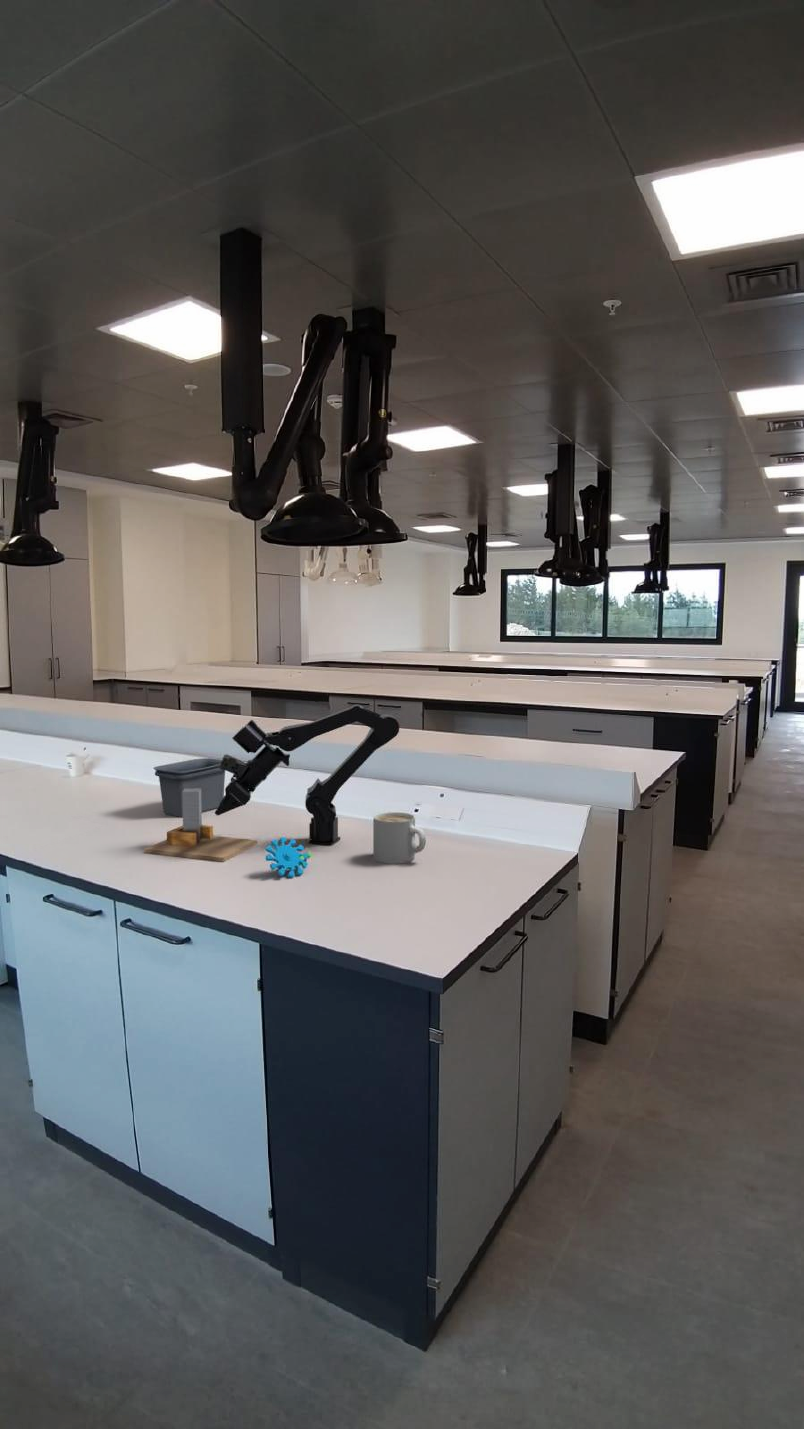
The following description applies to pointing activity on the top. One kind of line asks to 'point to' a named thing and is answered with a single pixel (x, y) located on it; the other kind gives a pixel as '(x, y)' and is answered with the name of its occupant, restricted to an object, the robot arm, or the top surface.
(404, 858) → the coffee mug
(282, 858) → the gear
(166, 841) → the plate
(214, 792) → the storage bin
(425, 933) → the top surface
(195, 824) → the link bar
